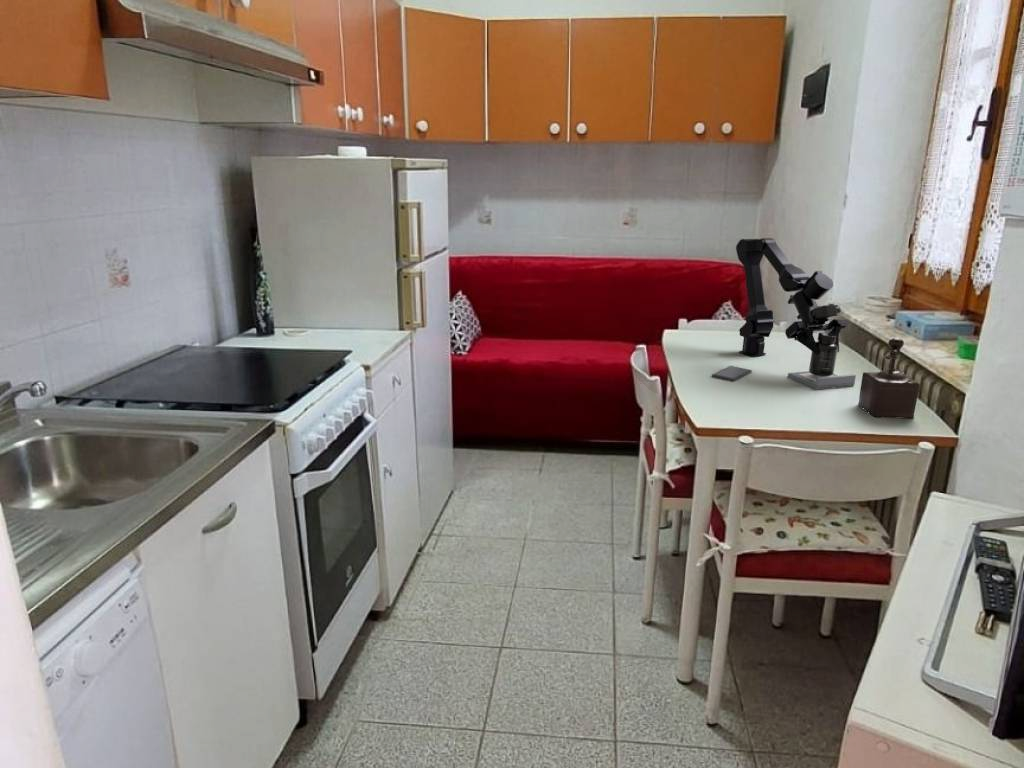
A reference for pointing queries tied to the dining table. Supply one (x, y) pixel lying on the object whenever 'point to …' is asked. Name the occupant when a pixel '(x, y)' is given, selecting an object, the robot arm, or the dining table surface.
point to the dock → (823, 380)
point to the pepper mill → (889, 389)
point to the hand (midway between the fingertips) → (827, 353)
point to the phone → (732, 373)
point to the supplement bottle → (824, 355)
